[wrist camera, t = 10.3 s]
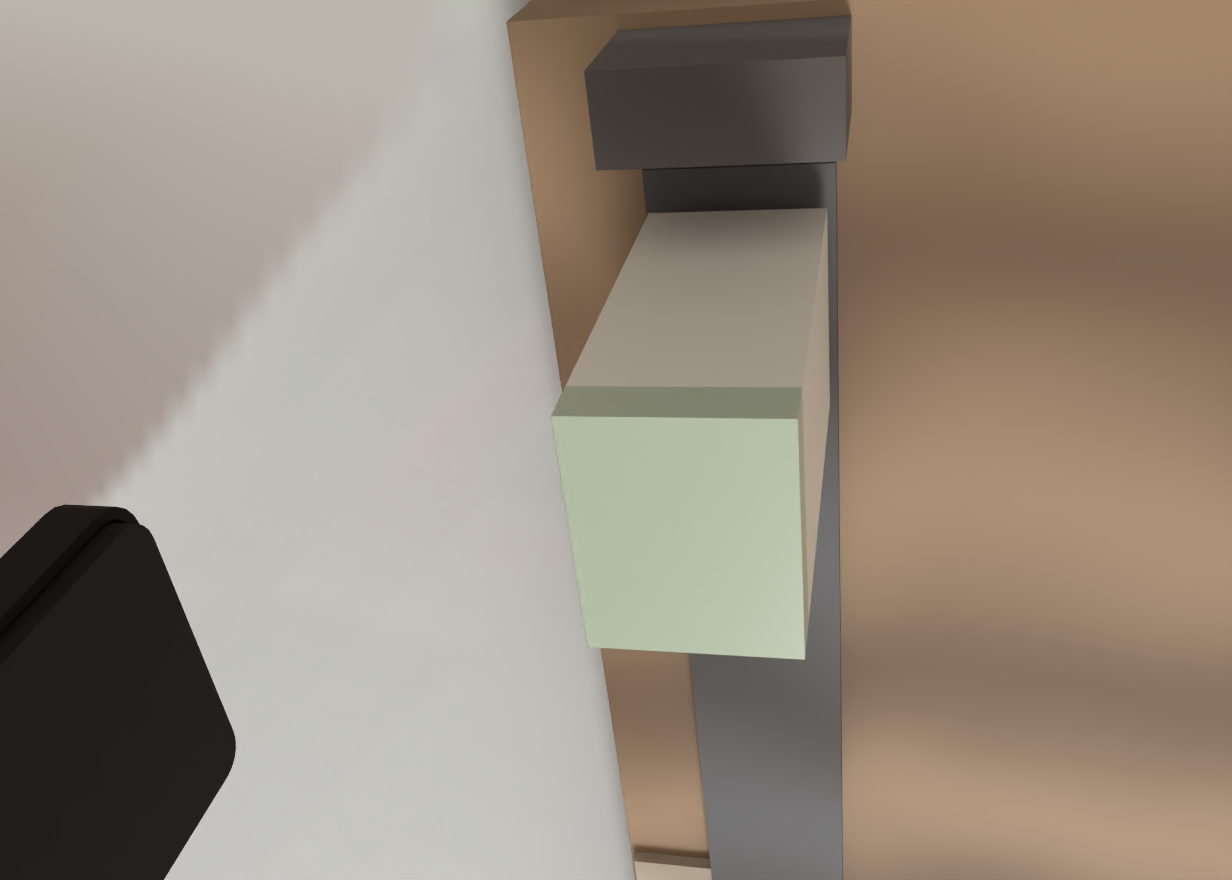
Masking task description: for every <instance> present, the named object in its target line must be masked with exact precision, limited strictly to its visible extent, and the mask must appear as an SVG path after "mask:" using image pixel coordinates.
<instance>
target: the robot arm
mask: <svg viewBox="0 0 1232 880" xmlns="http://www.w3.org/2000/svg"><path fill="white" fill-rule="evenodd" d="M235 750H236V742H235V736H234V732H233V729H232V727H231V724H230V722H229V719H228V717H227V715H226V712H225V710H224V707H223V705H222V702H221V700H220V698H219V695H218V693H217V690H216V688H215V685H214V683H213V681H212V678H211V676H210V673H209V671H208V668H207V666H206V664H205V661H204V659H203V656H202V654H201V651H200V649H199V647H198V644H197V642H196V639H195V637H194V634H193V632H192V630H191V627H190V625H189V622H188V620H187V618H186V615H185V613H184V610H183V608H182V605H181V603H180V601H179V598H178V596H177V593H176V591H175V588H174V586H173V584H172V581H171V579H170V576H169V574H168V571H167V569H166V567H165V564H164V562H163V559H162V557H161V554H160V552H159V550H158V547H157V545H156V542H155V540H154V538H153V536H152V534H151V533H150V531H149V530H148V529H147V528H146V527H144V526H143V525H140V524H139V523H138V521H137V519H136V518H135V516H134V515H133V514H132V513H130V512H129V511H128V510H127V509H124V508H119V507H107V506H84V505H62V506H58V507H55V508H53V509H52V510H50V511H49V512H48V513H46V514H45V515H44V516H43V517H42V518H41V519H40V520H39V521H38V522H37V523H36V524H35V525H34V526H33V527H32V528H31V529H30V530H29V531H28V532H27V533H26V534H25V535H24V536H23V537H22V538H21V539H19V541H17V542H16V543H15V544H14V545H13V546H12V547H11V548H10V549H9V550H8V551H7V552H6V553H5V554H4V555H3V556H2V557H1V558H0V880H164V878H165V877H166V875H167V874H168V872H169V870H170V869H171V867H172V866H173V864H174V862H175V861H176V859H177V857H178V856H179V854H180V853H181V851H182V849H183V848H184V846H185V844H186V843H187V841H188V840H189V838H190V836H191V835H192V833H193V832H194V830H195V828H196V827H197V825H198V823H199V822H200V820H201V819H202V817H203V815H204V814H205V812H206V810H207V809H208V807H209V806H210V804H211V802H212V801H213V799H214V798H215V796H216V794H217V793H218V791H219V789H220V788H221V786H222V785H223V783H224V781H225V780H226V778H227V776H228V774H229V772H230V770H231V768H232V765H233V762H234V758H235Z"/></svg>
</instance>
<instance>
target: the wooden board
mask: <svg viewBox="0 0 1232 880" xmlns="http://www.w3.org/2000/svg"><path fill="white" fill-rule="evenodd" d="M507 28H508V35H509V41H510V48H511V55H512V61H513V68H514V75H515V81H516V88H517V94H518V101H519V108H520V114H521V121H522V128H523V134H524V141H525V147H526V154H527V161H528V167H529V174H530V181H531V187H532V194H533V201H534V207H535V214H536V220H537V227H538V234H539V240H540V247H541V254H542V260H543V267H544V274H545V280H546V287H547V293H548V300H549V307H550V313H551V320H552V327H553V333H554V340H555V346H556V353H557V360H558V366H559V373H560V380H561V386H562V392H563V390H564V388H565V386H566V384H567V382H568V380H569V378H570V376H571V374H572V372H573V369H574V367H575V365H576V363H577V361H578V359H579V357H580V355H581V353H582V351H583V349H584V347H585V344H586V342H587V340H588V338H589V336H590V334H591V332H592V330H593V328H594V326H595V324H596V322H597V319H598V317H599V315H600V313H601V311H602V309H603V307H604V305H605V303H606V301H607V299H608V297H609V295H610V292H611V290H612V288H613V286H614V284H615V282H616V280H617V278H618V276H619V274H620V272H621V270H622V267H623V265H624V263H625V261H626V259H627V257H628V255H629V253H630V251H631V249H632V247H633V245H634V242H635V240H636V238H637V236H638V234H639V232H640V230H641V228H642V226H643V224H644V222H645V220H646V218H647V215H648V213H670V212H705V211H739V210H774V209H808V208H827V232H828V305H829V379H830V408H829V419H828V429H827V439H826V449H825V460H824V470H823V480H822V491H821V501H820V511H819V521H818V532H817V542H816V552H815V562H814V573H813V583H812V593H811V604H810V614H809V624H808V634H807V645H806V655H805V660H802V659H785V658H767V657H750V656H733V655H716V654H698V653H681V652H664V651H647V650H629V649H612V648H601V652H602V658H603V665H604V671H605V678H606V685H607V691H608V698H609V705H610V711H611V718H612V725H613V731H614V738H615V744H616V751H617V758H618V764H619V771H620V778H621V784H622V791H623V797H624V804H625V811H626V817H627V824H628V831H629V837H630V844H631V851H632V857H633V864H634V870H635V877H636V880H1232V0H532V1H531V2H530V3H528V4H527V5H526V6H525V7H524V8H523V9H521V10H520V11H519V12H518V13H517V14H515V15H514V16H513V17H512V18H511V19H509V20H508V21H507Z"/></svg>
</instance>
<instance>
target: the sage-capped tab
mask: <svg viewBox="0 0 1232 880" xmlns="http://www.w3.org/2000/svg"><path fill="white" fill-rule="evenodd" d="M829 408H830V379H829V305H828V232H827V208H808V209H774V210H739V211H705V212H670V213H648V215H647V218H646V220H645V222H644V224H643V226H642V228H641V230H640V232H639V234H638V236H637V238H636V240H635V242H634V245H633V247H632V249H631V251H630V253H629V255H628V257H627V259H626V261H625V263H624V265H623V267H622V270H621V272H620V274H619V276H618V278H617V280H616V282H615V284H614V286H613V288H612V290H611V292H610V295H609V297H608V299H607V301H606V303H605V305H604V307H603V309H602V311H601V313H600V315H599V317H598V319H597V322H596V324H595V326H594V328H593V330H592V332H591V334H590V336H589V338H588V340H587V342H586V344H585V347H584V349H583V351H582V353H581V355H580V357H579V359H578V361H577V363H576V365H575V367H574V369H573V372H572V374H571V376H570V378H569V380H568V382H567V384H566V386H565V388H564V390H563V392H562V394H561V396H560V399H559V401H558V403H557V405H556V407H555V409H554V411H553V413H552V415H551V419H552V426H553V432H554V438H555V444H556V451H557V457H558V463H559V470H560V476H561V482H562V489H563V495H564V501H565V508H566V514H567V520H568V526H569V533H570V539H571V545H572V552H573V558H574V564H575V571H576V577H577V583H578V590H579V596H580V602H581V608H582V615H583V621H584V627H585V634H586V640H587V646H588V647H595V648H612V649H629V650H647V651H664V652H681V653H698V654H716V655H733V656H750V657H767V658H785V659H802V660H805V655H806V645H807V634H808V624H809V614H810V604H811V593H812V583H813V573H814V562H815V552H816V542H817V532H818V521H819V511H820V501H821V491H822V480H823V470H824V460H825V449H826V439H827V429H828V419H829Z"/></svg>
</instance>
